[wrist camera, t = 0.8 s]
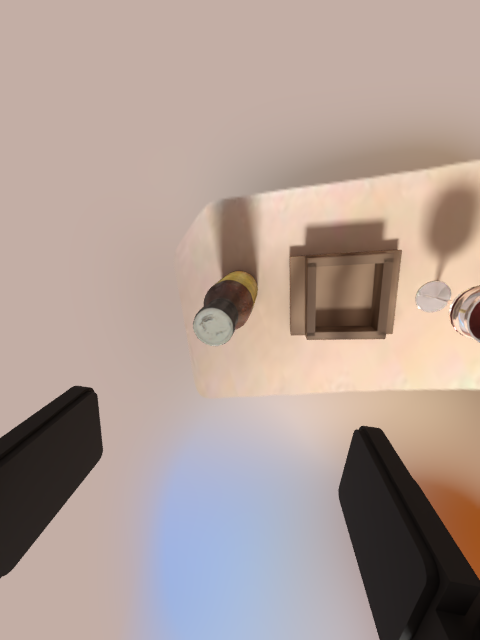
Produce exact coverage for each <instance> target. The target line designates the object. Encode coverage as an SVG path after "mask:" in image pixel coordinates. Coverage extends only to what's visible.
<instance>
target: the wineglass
mask: <svg viewBox="0 0 480 640" xmlns="http://www.w3.org/2000/svg"><path fill="white" fill-rule="evenodd" d="M450 298H451V290H450V288H449V286H448V285H447V284H445V283H444V282H440V281H432V282H429V283H427V284H425V285H423V286H422V287H421V288H420V289H419V291H418V293H417V294H416V304H417V306H418V307H419V308H420V309H421V310H423V311H425V312H435V311H439V310H441V309H442V308H444V307H445V306H446V305H447V304H450V305H451V306H450V310H449V319H450V322H451V324H452V325H453V327H454V329H455V330H456V331H457V332H459V333H460V334H461V335H463V336H465V337H468V338H471V339H474V340H476V341H478V342H479V343H480V285H479V286H476V287H472V288H469V289H467V290H465V291H463V292H462V293H460V294H459V295H458V296H457V297H456V298H455V299H454V301H453V300H450Z"/></svg>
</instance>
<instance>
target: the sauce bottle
mask: <svg viewBox="0 0 480 640" xmlns="http://www.w3.org/2000/svg"><path fill="white" fill-rule="evenodd" d="M257 290H258V287H257V284H256V281H255V279H254V278H253V276H251V275H250V274H248V273H246V272H243V271H235V272H232V273H230V274H228V275H226V276H225V277H224V278H223V279H221V280H220V281H219V282H218V283H216V284H215V285H214V286H212V287H211V288H210V289H209V291H208V292H207V294H206V296H205V299H204V307H203V308H202V309H201V310H200V311H199V312H198V313H197V314H196V316H195V319H194V322H193V329H194V332H195V334H196V335H197V337H198V338H199V339H200V340H201V341H202V342H203V343H205V344H207V345H211V346H219V345H223V344H225V343H226V342H228V341H229V339H230V338H231V337H232V335H233V333H234V331H235V329H238V328H240V327H241V326H243V325H244V323H245V322H246V321H247V320H248V318H249V316H250V314H251V312H252V309H253V306H254V303H255V300H256V296H257Z"/></svg>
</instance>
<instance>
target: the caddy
mask: <svg viewBox="0 0 480 640" xmlns="http://www.w3.org/2000/svg"><path fill="white" fill-rule="evenodd" d="M401 254H402V250H387V251H372V252H356V253H340V254H324V255H309V256H293V257H290V332H291V335H306V338H307V340H336V339H385V337H386V334H393V325H394V316H395V307H396V298H397V289H398V280H399V272H400V263H401Z"/></svg>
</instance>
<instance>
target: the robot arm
mask: <svg viewBox="0 0 480 640" xmlns="http://www.w3.org/2000/svg"><path fill="white" fill-rule="evenodd" d="M102 452H103V446H102V436H101V427H100V417H99V407H98V398H97V394H96V393H95V392H94V390H93V389H92V388H89V387H82V386H74V387H72V388H70V389H69V390H68V391H66V392H65V393H63V394H62V395H60V396H59V397H58V398H56V399H55V400H53V401H52V402H51V403H49V404H48V405H46V406H45V407H43V408H42V409H41V410H39V411H38V412H36V413H35V414H34V415H32V416H31V417H29V418H28V419H27V420H25V421H24V422H22V423H21V424H19V425H18V426H17V427H15V428H14V429H12V430H11V431H10V432H8V433H7V434H6V435H4V436H2V437H1V438H0V578H1V577H2V576H5V575H7V574H8V573H9V572H10V571H11V570H12V569H13V568H14V567H15V566H16V564H17V563H18V562H19V561H20V559H21V558H22V557H23V556H24V554H25V553H26V552H27V551H28V549H29V548H30V547H31V545H32V544H33V543H34V542H35V540H36V539H37V538H38V537H39V536H40V534H41V533H42V532H43V530H44V529H45V528H46V527H47V525H48V524H49V523H50V521H51V520H52V519H53V518H54V517H55V515H56V514H57V513H58V512H59V510H60V509H61V508H62V506H63V505H64V504H65V503H66V501H67V500H68V499H69V498H70V496H71V495H72V494H73V493H74V491H75V490H76V489H77V488H78V486H79V485H80V484H81V483H82V481H83V480H84V479H85V478H86V476H87V475H88V474H89V473H90V471H91V470H92V469H93V468H94V466H95V465H96V464H97V462H98V461H99V460H100V458H101V456H102ZM339 500H340V504H341V507H342V511H343V514H344V518H345V521H346V525H347V528H348V532H349V534H350V538H351V542H352V545H353V549H354V552H355V556H356V559H357V562H358V566H359V570H360V573H361V576H362V579H363V583H364V587H365V590H366V594H367V597H368V601H369V604H370V608H371V611H372V614H373V618H374V621H375V625H376V628H377V632H378V635H379V639H380V640H480V580H479V578H478V577H477V575H476V574H475V572H474V571H473V569H472V568H471V566H470V564H469V563H468V561H467V560H466V558H465V557H464V555H463V554H462V552H461V550H460V549H459V547H458V546H457V544H456V543H455V541H454V540H453V538H452V537H451V535H450V533H449V532H448V530H447V529H446V528H445V526H444V524H443V522H442V521H441V519H440V518H439V516H438V515H437V513H436V512H435V510H434V509H433V507H432V505H431V504H430V502H429V501H428V499H427V498H426V496H425V494H424V493H423V491H422V490H421V488H420V487H419V485H418V484H417V483H416V481H415V480H414V479H413V478H412V476H411V475H410V473H409V472H408V470H407V469H406V467H405V466H404V464H403V462H402V461H401V459H400V458H399V456H398V454H397V453H396V451H395V450H394V448H393V447H392V445H391V443H390V442H389V440H388V439H387V437H386V436H385V434H384V432H383V431H382V430H381V429H380V428H374V427H368V426H361V427H360V428H359V430H355V431H354V433H353V437H352V441H351V445H350V448H349V452H348V456H347V459H346V463H345V467H344V471H343V475H342V478H341V482H340V486H339Z"/></svg>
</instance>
